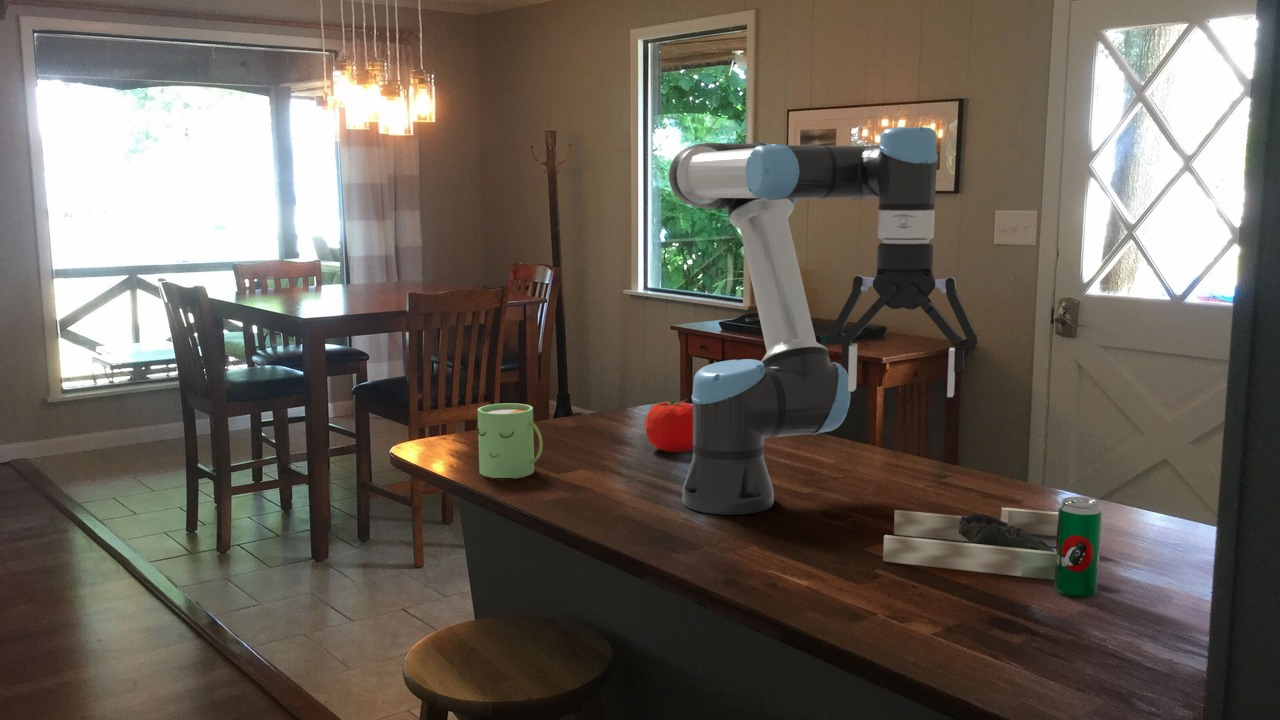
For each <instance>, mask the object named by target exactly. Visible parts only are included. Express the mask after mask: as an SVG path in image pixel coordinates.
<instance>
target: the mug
mask: <svg viewBox="0 0 1280 720" xmlns="http://www.w3.org/2000/svg"><path fill="white" fill-rule="evenodd" d="M477 426H478V427H477V434H478V436H477V437H478V464H479V465H478V467H479V475H480V474H482V475H483V476H482V475H481V476H482V477H484V476H487V477H492V478H491V479H493V478H513V479H520V478H524V477H529V476H530V475H532V474H534V473H535V463H536V462H537V461H538V459H540V456H541V454H542V451H543V444H544V443H543V442H544V441H543V437H542V434H541V433H542V432H541V431H540V429H539V427H538V426H537V425H536V423H535V422H534V407H533V406H532V405H529V404H525V403H524V404H523V403H513V402H512V403H511V402H509V403H507V402H506V403H493V404H486V405H483V406H480V407H478V408H477ZM534 431H535V432H536V435H537V437H538V452H537V454H536V456H535V448H534V446H535V445H534V444H535V443H534ZM487 477H486V478H487Z"/></svg>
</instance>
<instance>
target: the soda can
mask: <svg viewBox="0 0 1280 720" xmlns="http://www.w3.org/2000/svg"><path fill="white" fill-rule="evenodd" d="M1057 512H1058V524H1057V542H1056V548H1055V552H1056V561H1055V579H1054V580H1053V581H1054V583H1053V586H1054V589H1055V590H1056V591H1057V592H1058V593H1059V594H1060V595H1062V596H1064V597H1068V598H1072V599H1088V598H1092V597H1093V596H1094V595H1096V593H1097V592H1098V582H1099V567H1100V566H1099V565H1100V552H1101V550H1100V549H1101V535H1102V533H1101V532H1102V516H1103V513H1102V510H1101V507H1100V503H1099V501H1097V500H1095V499H1092V498H1088V497H1081V496H1068V497H1063V498H1062V499H1061V504H1060V505H1059V506H1058V507H1057Z"/></svg>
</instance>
